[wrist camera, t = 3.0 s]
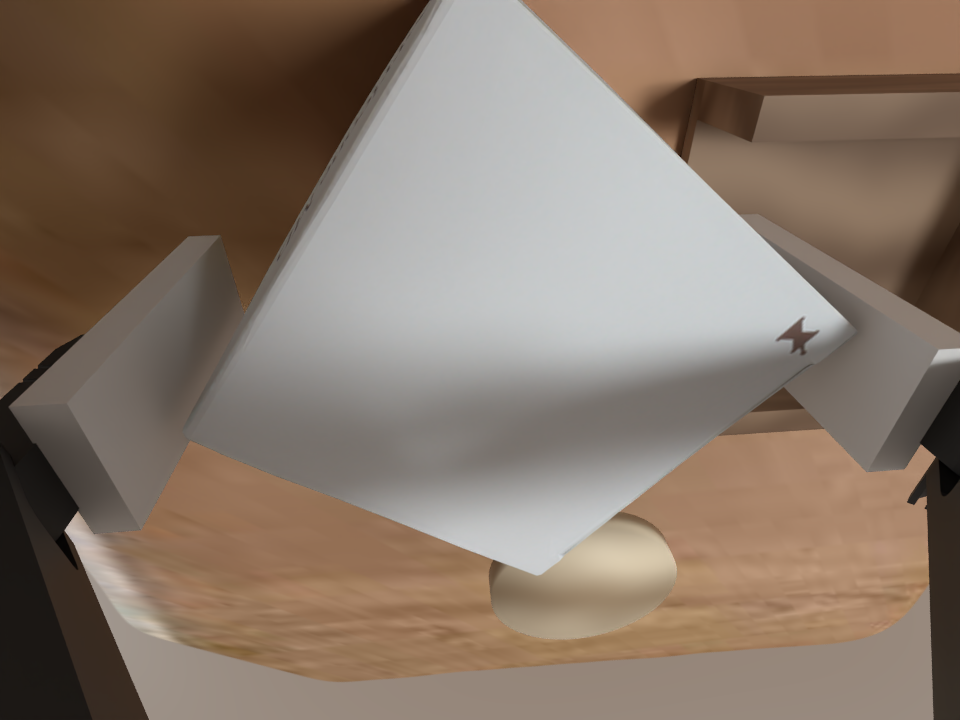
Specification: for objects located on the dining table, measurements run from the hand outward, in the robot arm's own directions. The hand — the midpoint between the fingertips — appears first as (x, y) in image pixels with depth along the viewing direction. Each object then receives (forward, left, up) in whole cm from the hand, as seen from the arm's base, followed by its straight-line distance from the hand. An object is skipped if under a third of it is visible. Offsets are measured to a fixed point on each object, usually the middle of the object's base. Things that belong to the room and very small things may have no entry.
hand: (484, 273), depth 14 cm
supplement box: (0, 0, -12) cm, 12 cm away
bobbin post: (+15, +4, -12) cm, 19 cm away
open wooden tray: (+5, +18, -12) cm, 22 cm away
